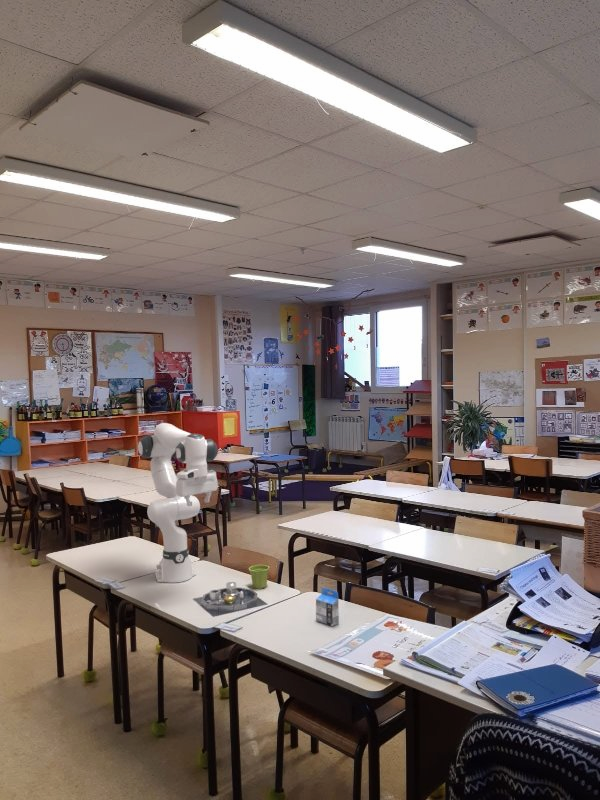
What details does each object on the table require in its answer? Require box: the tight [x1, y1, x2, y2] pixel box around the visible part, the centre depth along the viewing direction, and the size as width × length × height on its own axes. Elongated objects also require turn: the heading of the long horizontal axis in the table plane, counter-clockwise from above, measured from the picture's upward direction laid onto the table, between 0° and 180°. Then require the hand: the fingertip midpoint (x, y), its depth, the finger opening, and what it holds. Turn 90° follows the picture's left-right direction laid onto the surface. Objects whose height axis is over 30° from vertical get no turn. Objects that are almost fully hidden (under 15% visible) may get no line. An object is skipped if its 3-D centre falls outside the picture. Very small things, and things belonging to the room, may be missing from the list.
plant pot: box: [248, 564, 270, 590], centre depth 272 cm, size 9×9×9 cm
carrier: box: [192, 581, 268, 618], centre depth 251 cm, size 24×24×7 cm
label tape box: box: [315, 586, 340, 627], centre depth 228 cm, size 9×4×12 cm, turn 45°
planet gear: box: [207, 589, 224, 606], centre depth 247 cm, size 7×7×6 cm
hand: (198, 504), depth 257 cm, fingers open, 8 cm apart
